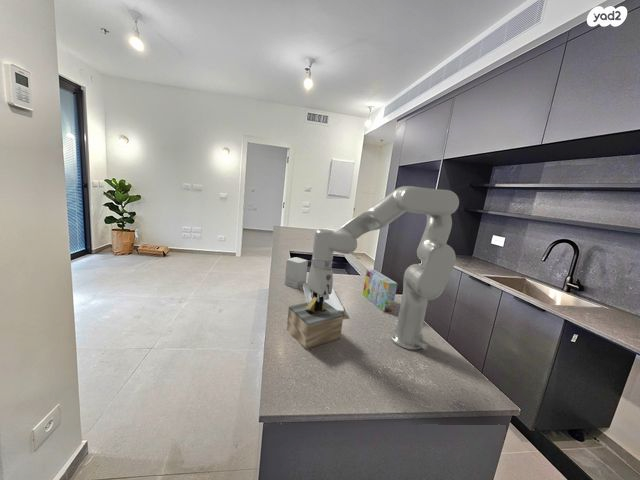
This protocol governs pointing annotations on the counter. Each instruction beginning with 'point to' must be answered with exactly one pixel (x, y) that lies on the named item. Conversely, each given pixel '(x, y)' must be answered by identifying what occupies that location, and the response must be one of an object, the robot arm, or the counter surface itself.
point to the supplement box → (296, 272)
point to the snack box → (380, 290)
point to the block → (312, 305)
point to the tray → (331, 301)
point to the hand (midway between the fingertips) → (316, 308)
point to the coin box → (314, 325)
